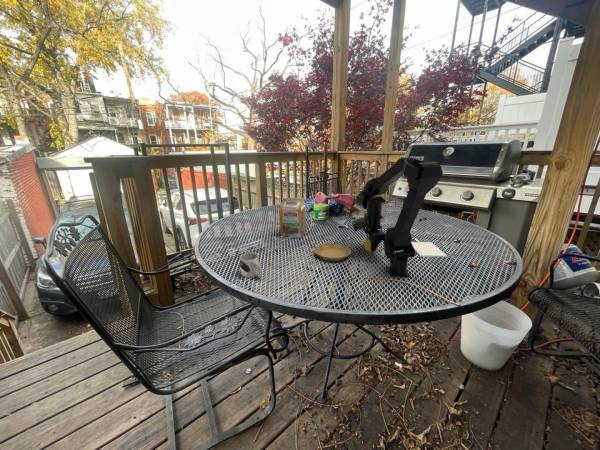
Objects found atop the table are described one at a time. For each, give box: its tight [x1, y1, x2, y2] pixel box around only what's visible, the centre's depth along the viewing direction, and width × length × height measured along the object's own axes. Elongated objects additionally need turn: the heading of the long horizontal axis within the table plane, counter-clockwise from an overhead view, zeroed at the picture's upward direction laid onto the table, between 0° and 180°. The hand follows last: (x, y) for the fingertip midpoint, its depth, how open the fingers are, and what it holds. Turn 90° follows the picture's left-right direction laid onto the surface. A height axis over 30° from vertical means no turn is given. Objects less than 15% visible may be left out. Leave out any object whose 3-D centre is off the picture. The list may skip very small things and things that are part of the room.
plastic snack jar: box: [278, 197, 307, 239], centre depth 125 cm, size 11×11×19 cm
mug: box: [239, 252, 263, 279], centre depth 89 cm, size 10×7×7 cm
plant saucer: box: [314, 242, 352, 262], centre depth 104 cm, size 15×15×3 cm
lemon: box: [364, 237, 380, 254], centre depth 104 cm, size 6×6×8 cm
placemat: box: [411, 241, 448, 258], centre depth 107 cm, size 14×10×1 cm
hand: (371, 248), depth 104 cm, fingers closed on lemon, 5 cm apart
